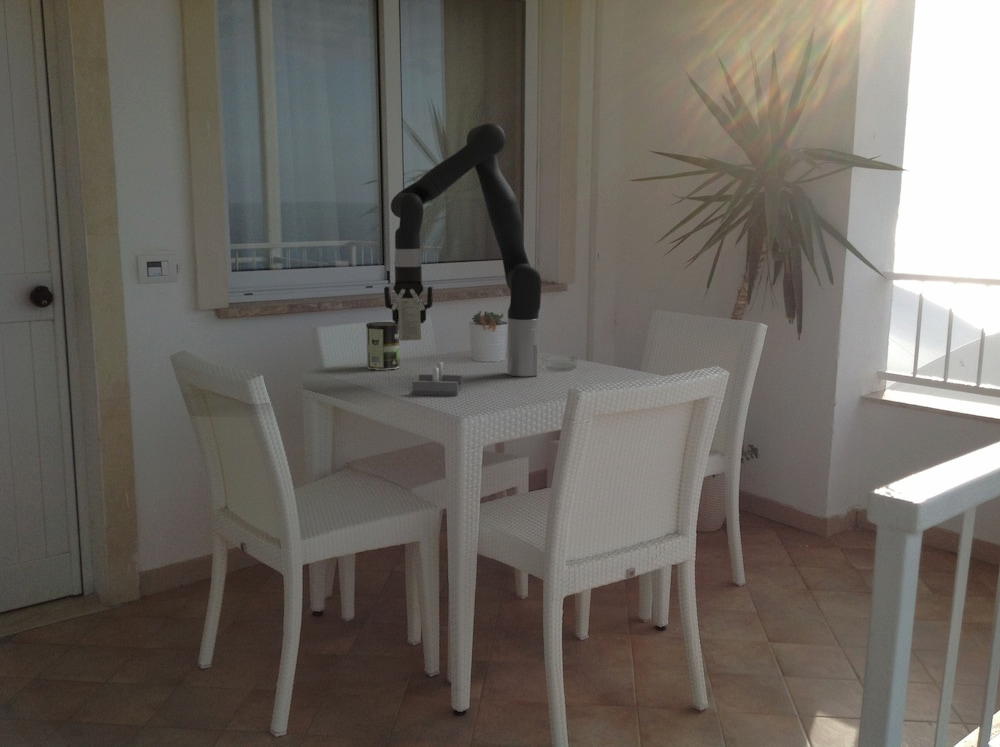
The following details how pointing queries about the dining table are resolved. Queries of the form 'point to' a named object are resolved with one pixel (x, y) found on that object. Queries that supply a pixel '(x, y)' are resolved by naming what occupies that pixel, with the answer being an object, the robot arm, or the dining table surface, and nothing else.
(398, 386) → the dining table surface
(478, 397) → the dining table surface
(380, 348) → the coffee can
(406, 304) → the skincare box
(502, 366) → the dining table surface
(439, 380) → the tray
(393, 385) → the dining table surface
